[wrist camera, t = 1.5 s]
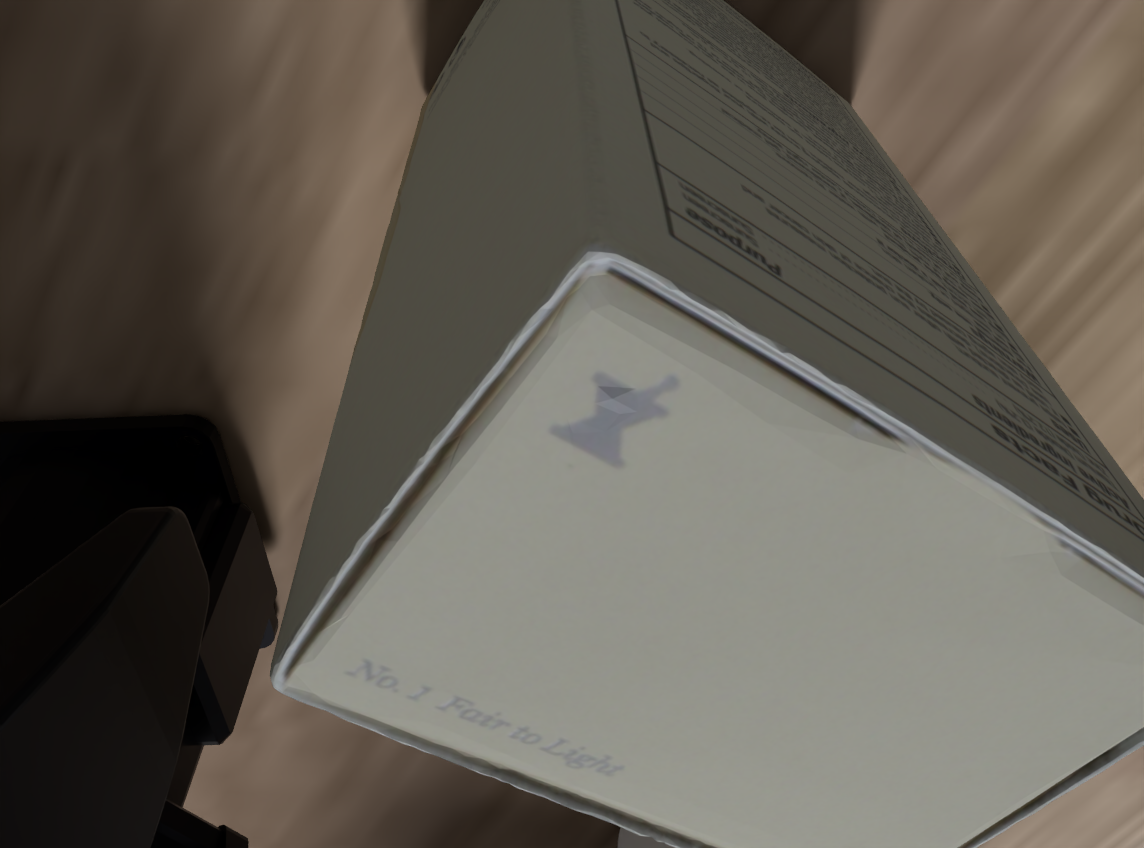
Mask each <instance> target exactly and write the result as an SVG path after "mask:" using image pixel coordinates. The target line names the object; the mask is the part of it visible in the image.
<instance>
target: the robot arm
mask: <svg viewBox="0 0 1144 848" xmlns="http://www.w3.org/2000/svg"><path fill="white" fill-rule="evenodd" d="M184 436H188V437H193V438H195V439H196V440H198V441H199V442H200V444H199V445H197V444H192V443H190V442H188V441H187V440H186V439H185V438H184ZM276 595H277V588H276V585H275V581H274V578H273V575H272V572H271V568H270V565H269V562H268V558H267V555H266V552H265V549H264V545H263V542H262V539H261V536H260V532H259V529H258V526H257V523H256V519H255V516H254V513H253V512H252V510H251V509H250V508H249V507H248V506H247V505H246V504H245V503H241V501H240V498H239V494H238V491H237V488H236V485H235V482H234V478H233V475H232V472H231V469H230V466H229V463H228V459H227V456H226V453H225V450H224V447H223V443H222V440H221V437H220V434H219V432H218V430H217V428H216V427H215V426H214V425H213V424H212V423H211V422H210V421H209V420H207V419H205V418H202V417H200V416H196V415H167V416H142V417H116V418H91V419H65V420H40V421H14V422H0V848H248V838H246V837H245V836H243V835H241V834H239V833H238V832H236V831H234V830H232V829H230V828H229V827H227V826H225V825H221V826H219V827H216V826H214V825H213V824H211V823H209V822H207V821H205V820H204V819H202V818H200V817H198V816H196V815H195V814H193V813H191V812H189V811H187V810H186V809H184V808H183V805H184V802H185V799H186V796H187V793H188V790H189V787H190V784H191V782H192V779H193V776H194V773H195V770H196V767H197V764H198V761H199V758H200V755H201V753H202V750H203V747H204V745H220V744H222V743H223V742H224V741H225V740H226V739H227V738H228V737H229V736H230V735H231V733H232V732H233V729H234V726H235V723H236V720H237V717H238V714H239V710H240V707H241V704H242V701H243V698H244V695H245V692H246V689H247V686H248V682H249V679H250V676H251V673H252V670H253V667H254V664H255V661H256V658H257V655H258V651H259V649H260V648H265V647H267V646H269V645H271V644H272V642H273V641H274V639H275V635H276V632H277V629H278V619H277V616H276V613H275V609H274V606H273V605H274V602H275V599H276Z"/></svg>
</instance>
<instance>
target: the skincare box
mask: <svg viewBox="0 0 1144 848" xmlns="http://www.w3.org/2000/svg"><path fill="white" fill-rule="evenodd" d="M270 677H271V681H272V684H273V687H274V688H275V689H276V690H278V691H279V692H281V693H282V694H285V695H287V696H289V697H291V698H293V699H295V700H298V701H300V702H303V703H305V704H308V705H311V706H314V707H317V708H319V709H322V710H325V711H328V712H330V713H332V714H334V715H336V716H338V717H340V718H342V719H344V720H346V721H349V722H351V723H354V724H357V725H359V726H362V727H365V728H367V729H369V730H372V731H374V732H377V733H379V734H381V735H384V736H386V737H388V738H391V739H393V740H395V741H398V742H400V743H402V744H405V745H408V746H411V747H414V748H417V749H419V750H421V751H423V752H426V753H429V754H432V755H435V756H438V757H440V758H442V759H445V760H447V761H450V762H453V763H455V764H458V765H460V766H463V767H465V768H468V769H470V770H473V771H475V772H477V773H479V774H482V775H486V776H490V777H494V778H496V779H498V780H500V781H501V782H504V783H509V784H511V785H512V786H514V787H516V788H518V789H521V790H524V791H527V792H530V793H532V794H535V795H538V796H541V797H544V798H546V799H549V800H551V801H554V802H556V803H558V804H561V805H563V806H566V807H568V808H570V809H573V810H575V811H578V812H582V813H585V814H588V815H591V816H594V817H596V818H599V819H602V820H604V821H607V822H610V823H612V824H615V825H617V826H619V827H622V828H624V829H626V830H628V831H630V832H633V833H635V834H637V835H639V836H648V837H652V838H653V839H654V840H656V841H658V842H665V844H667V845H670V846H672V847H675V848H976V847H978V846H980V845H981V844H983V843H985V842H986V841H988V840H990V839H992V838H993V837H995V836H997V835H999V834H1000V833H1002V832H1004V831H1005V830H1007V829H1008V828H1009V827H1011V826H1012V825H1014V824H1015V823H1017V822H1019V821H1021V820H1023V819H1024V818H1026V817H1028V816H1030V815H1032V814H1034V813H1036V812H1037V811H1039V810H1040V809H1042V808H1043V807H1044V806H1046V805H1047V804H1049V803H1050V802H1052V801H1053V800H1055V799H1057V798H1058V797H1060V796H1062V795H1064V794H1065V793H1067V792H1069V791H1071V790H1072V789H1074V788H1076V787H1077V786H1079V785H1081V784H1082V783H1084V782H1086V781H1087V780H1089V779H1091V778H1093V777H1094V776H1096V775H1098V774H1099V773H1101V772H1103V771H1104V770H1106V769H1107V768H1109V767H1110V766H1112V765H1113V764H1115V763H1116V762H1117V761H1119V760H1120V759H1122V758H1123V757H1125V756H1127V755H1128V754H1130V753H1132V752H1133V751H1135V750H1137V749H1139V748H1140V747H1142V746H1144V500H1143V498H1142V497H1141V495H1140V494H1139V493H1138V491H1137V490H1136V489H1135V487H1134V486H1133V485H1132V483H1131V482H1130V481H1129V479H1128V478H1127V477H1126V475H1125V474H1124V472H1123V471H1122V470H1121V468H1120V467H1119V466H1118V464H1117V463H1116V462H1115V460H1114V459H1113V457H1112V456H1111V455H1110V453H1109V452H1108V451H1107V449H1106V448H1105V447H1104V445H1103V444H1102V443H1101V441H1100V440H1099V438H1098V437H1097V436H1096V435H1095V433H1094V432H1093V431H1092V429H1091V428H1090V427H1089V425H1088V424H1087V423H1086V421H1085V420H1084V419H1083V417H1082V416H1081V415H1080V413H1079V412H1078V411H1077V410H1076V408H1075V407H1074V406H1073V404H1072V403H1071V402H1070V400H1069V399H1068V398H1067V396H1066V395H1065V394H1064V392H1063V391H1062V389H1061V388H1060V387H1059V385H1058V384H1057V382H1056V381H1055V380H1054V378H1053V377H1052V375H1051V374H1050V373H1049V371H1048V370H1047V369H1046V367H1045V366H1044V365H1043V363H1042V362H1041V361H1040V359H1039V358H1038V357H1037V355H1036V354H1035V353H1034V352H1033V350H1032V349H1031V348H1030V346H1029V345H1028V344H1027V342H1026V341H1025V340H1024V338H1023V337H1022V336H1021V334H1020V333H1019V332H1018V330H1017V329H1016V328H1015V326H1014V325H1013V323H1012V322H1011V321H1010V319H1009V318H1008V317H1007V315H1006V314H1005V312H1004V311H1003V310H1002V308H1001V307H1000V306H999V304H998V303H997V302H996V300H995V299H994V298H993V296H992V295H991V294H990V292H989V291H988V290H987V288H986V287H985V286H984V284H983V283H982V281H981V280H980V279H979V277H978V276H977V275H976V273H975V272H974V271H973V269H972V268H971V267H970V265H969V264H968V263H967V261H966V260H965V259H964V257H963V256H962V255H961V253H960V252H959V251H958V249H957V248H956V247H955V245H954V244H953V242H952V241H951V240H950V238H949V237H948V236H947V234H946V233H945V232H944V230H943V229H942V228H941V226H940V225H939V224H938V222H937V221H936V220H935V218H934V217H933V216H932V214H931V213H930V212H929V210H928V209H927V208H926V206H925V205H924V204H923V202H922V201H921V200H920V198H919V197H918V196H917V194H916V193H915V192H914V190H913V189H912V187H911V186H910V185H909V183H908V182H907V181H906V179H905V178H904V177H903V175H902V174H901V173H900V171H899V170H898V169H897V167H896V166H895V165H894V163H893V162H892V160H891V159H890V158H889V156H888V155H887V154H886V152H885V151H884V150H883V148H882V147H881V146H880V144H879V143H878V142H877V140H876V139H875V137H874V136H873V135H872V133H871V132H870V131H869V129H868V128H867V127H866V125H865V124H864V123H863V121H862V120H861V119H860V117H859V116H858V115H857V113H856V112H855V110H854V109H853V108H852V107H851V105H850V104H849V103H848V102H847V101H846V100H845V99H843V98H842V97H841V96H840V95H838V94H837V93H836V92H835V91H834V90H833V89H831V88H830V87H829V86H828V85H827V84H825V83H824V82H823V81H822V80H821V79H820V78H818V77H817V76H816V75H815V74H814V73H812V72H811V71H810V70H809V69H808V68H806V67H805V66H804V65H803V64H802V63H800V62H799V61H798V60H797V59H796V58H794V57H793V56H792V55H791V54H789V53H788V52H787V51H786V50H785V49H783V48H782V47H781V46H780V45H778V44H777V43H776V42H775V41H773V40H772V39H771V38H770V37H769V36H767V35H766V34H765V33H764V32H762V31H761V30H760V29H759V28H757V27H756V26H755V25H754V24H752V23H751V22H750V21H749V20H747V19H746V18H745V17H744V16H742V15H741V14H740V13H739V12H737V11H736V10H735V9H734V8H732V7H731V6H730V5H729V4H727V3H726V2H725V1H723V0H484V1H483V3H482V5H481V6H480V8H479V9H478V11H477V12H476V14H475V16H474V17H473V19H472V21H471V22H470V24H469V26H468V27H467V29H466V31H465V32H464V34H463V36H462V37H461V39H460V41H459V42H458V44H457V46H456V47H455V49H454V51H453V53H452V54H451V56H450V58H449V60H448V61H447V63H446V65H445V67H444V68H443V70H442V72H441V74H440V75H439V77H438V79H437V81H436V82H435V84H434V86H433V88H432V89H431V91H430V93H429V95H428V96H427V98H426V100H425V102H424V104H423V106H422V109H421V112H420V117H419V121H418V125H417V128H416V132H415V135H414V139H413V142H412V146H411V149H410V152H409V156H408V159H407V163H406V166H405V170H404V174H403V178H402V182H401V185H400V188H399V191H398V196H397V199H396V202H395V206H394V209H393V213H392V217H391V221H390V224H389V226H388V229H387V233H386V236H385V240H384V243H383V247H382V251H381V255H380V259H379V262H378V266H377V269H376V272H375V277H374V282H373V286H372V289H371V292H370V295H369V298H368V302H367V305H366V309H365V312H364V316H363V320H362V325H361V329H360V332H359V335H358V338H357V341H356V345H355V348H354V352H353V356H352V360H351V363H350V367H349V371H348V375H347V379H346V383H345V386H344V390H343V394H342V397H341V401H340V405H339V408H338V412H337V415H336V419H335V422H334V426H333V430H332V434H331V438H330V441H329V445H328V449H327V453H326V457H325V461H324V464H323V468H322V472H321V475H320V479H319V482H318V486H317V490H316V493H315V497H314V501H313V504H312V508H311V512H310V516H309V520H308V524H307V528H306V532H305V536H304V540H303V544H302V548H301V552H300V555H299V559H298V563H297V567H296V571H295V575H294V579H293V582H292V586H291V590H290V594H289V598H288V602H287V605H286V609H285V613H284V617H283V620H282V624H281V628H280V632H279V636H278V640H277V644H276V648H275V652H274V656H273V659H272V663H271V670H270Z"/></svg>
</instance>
